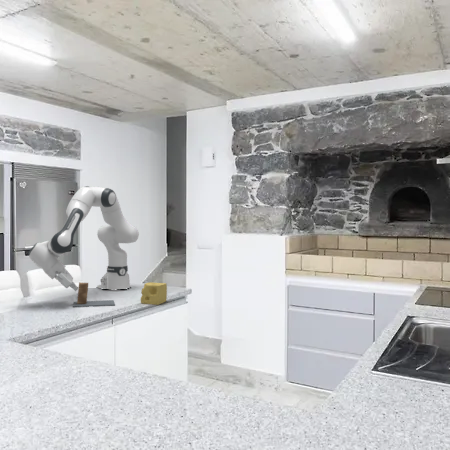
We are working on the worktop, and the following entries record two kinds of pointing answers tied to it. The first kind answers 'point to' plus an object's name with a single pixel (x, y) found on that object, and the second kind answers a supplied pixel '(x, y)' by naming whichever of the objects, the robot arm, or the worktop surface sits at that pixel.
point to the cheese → (154, 293)
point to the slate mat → (95, 303)
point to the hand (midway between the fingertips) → (77, 289)
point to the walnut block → (82, 293)
